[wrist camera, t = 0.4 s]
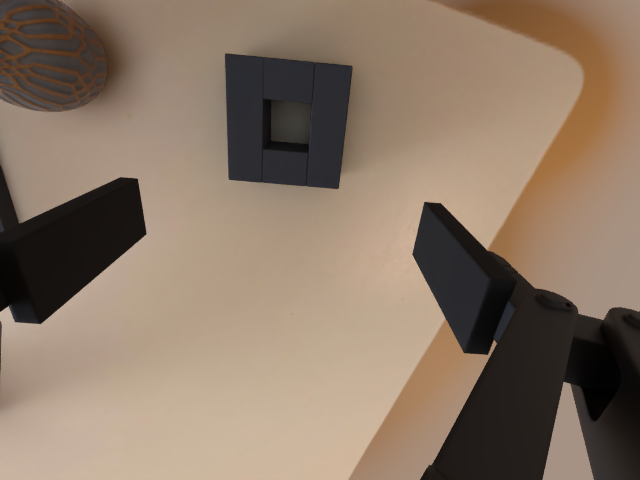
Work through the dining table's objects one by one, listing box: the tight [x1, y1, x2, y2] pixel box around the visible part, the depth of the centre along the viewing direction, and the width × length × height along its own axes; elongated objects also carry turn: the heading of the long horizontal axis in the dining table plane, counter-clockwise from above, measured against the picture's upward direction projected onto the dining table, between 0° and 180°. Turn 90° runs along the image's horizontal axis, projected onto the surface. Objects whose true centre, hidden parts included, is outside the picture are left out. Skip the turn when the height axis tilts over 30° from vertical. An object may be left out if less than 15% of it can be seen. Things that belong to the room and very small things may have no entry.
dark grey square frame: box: [225, 54, 352, 189], centre depth 24 cm, size 8×8×4 cm
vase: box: [0, 0, 107, 112], centre depth 20 cm, size 7×7×9 cm
